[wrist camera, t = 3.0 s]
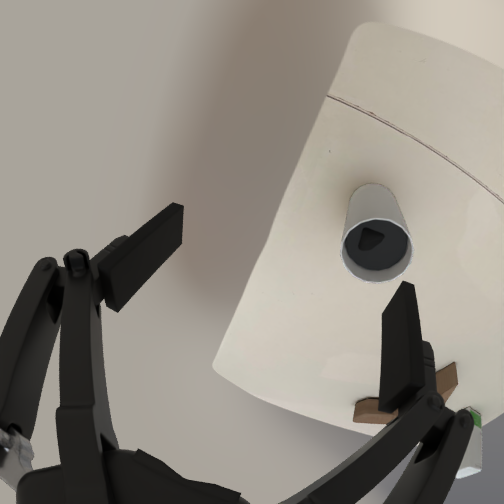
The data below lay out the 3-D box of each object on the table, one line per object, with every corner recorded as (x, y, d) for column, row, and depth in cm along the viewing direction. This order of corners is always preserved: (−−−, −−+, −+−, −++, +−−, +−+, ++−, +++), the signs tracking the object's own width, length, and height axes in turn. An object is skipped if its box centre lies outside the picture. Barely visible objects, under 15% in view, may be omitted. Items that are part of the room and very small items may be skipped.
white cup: (339, 223, 34) (331, 272, 26) (353, 172, 30) (351, 207, 22) (390, 238, 33) (396, 291, 25) (408, 189, 29) (425, 230, 21)
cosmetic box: (481, 414, 44) (483, 470, 32) (459, 425, 48) (459, 479, 36) (468, 405, 44) (470, 467, 31) (445, 417, 48) (444, 476, 35)
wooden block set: (432, 429, 43) (351, 428, 49) (432, 407, 47) (355, 405, 53) (463, 387, 34) (363, 387, 40) (460, 361, 38) (366, 359, 45)
